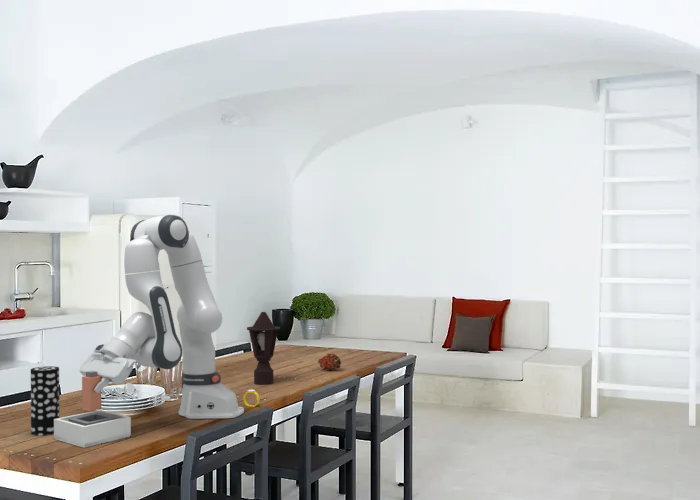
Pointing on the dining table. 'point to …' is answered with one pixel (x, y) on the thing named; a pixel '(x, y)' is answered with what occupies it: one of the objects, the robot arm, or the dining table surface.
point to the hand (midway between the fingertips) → (90, 390)
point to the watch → (256, 396)
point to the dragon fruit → (330, 362)
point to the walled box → (92, 428)
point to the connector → (90, 392)
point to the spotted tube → (44, 399)
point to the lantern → (263, 348)
